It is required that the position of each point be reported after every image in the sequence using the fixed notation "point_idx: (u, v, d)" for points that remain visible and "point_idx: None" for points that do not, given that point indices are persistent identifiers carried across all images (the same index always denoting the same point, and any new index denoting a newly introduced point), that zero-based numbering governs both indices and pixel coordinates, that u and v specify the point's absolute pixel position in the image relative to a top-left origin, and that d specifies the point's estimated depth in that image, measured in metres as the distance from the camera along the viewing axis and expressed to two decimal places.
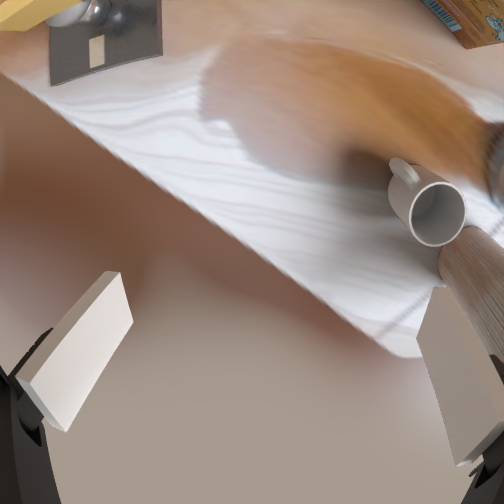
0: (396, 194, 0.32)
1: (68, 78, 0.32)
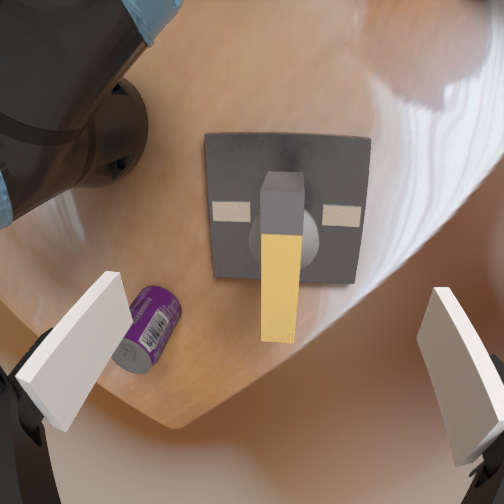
0: None
1: (357, 258, 0.37)
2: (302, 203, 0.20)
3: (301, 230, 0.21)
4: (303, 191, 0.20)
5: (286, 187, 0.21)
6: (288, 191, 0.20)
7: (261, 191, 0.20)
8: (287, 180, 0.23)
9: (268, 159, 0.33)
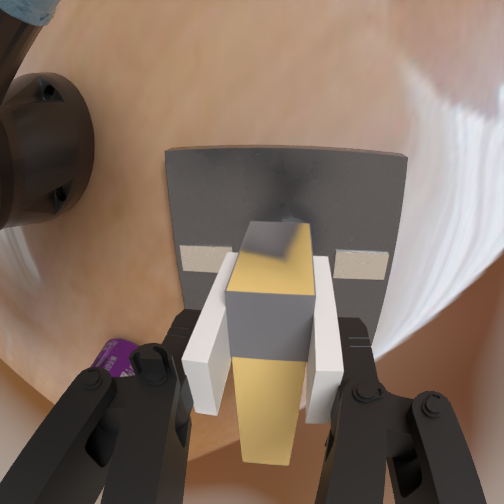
0: None
1: (377, 317, 0.26)
2: (310, 314, 0.10)
3: (305, 355, 0.11)
4: (313, 291, 0.10)
5: (278, 277, 0.11)
6: (282, 291, 0.10)
7: (227, 291, 0.10)
8: (282, 249, 0.12)
9: (257, 187, 0.23)
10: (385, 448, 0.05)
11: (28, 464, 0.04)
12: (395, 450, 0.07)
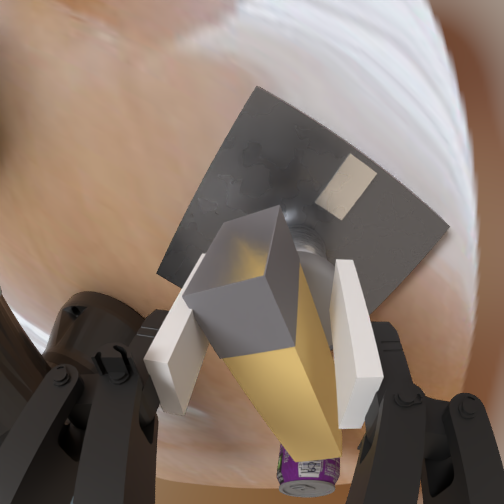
0: None
1: (419, 202, 0.21)
2: (269, 296, 0.09)
3: (289, 340, 0.10)
4: (263, 271, 0.09)
5: (233, 268, 0.10)
6: (233, 280, 0.10)
7: (184, 295, 0.10)
8: (245, 240, 0.12)
9: (217, 230, 0.24)
10: (422, 453, 0.05)
11: (6, 459, 0.04)
12: (430, 451, 0.06)
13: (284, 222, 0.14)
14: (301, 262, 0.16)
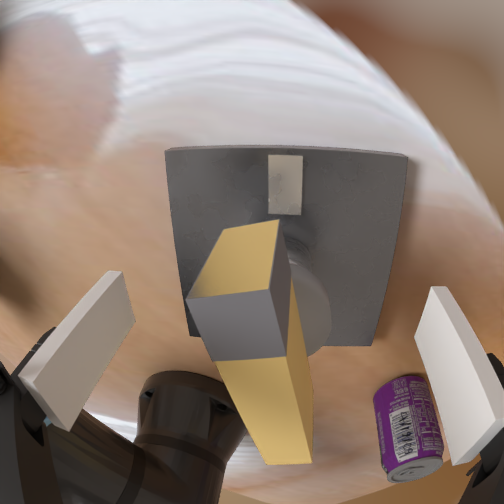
0: None
1: (361, 154, 0.20)
2: (270, 308, 0.10)
3: (281, 350, 0.11)
4: (267, 285, 0.10)
5: (236, 278, 0.11)
6: (238, 290, 0.10)
7: (188, 299, 0.10)
8: (246, 250, 0.13)
9: None
10: None
11: None
12: None
13: (282, 236, 0.15)
14: (291, 275, 0.17)
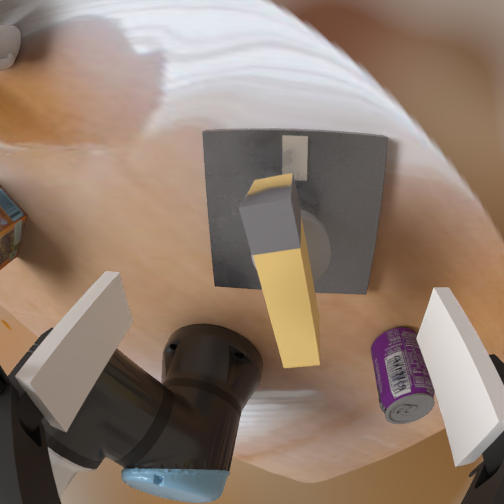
0: (2, 42, 0.22)
1: (351, 135, 0.27)
2: (290, 211, 0.17)
3: (297, 242, 0.18)
4: (289, 197, 0.17)
5: (269, 197, 0.18)
6: (271, 200, 0.17)
7: (240, 207, 0.17)
8: (273, 186, 0.20)
9: (235, 233, 0.34)
10: None
11: None
12: None
13: (295, 184, 0.22)
14: (301, 215, 0.24)
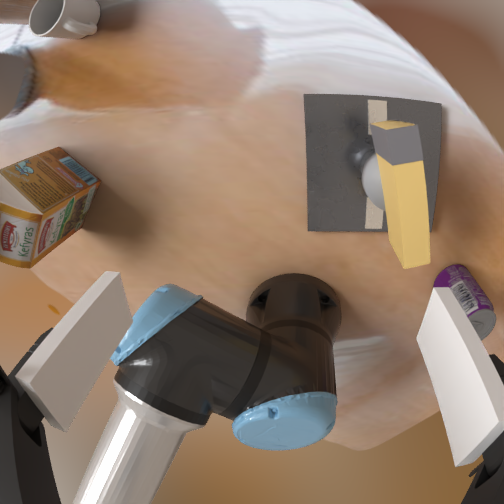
0: (86, 10, 0.27)
1: (416, 101, 0.31)
2: (418, 133, 0.21)
3: (421, 156, 0.22)
4: (415, 124, 0.21)
5: (400, 125, 0.22)
6: (405, 126, 0.21)
7: (386, 130, 0.22)
8: (393, 123, 0.24)
9: (330, 180, 0.38)
10: None
11: None
12: None
13: None
14: None
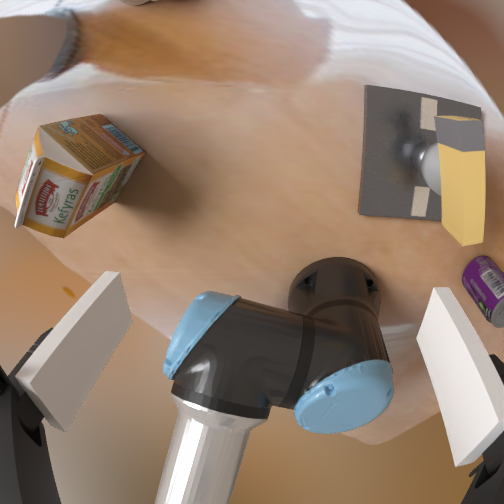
0: None
1: (461, 103, 0.32)
2: (482, 127, 0.21)
3: (484, 146, 0.22)
4: None
5: (468, 119, 0.22)
6: (473, 120, 0.21)
7: (459, 121, 0.22)
8: (458, 117, 0.24)
9: (384, 167, 0.38)
10: None
11: None
12: None
13: None
14: None
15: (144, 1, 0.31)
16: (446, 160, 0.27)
